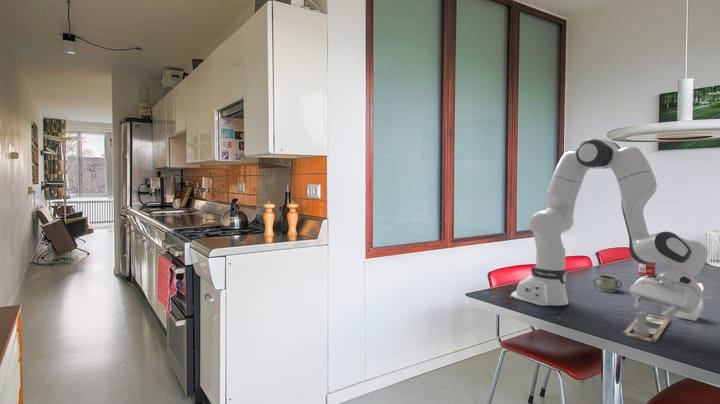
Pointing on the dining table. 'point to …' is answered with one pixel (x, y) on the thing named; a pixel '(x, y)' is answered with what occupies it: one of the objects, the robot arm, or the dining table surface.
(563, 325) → the dining table surface
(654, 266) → the soda can
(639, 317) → the rook chess piece
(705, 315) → the dining table surface
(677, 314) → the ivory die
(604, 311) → the dining table surface
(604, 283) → the vessel
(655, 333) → the track board
